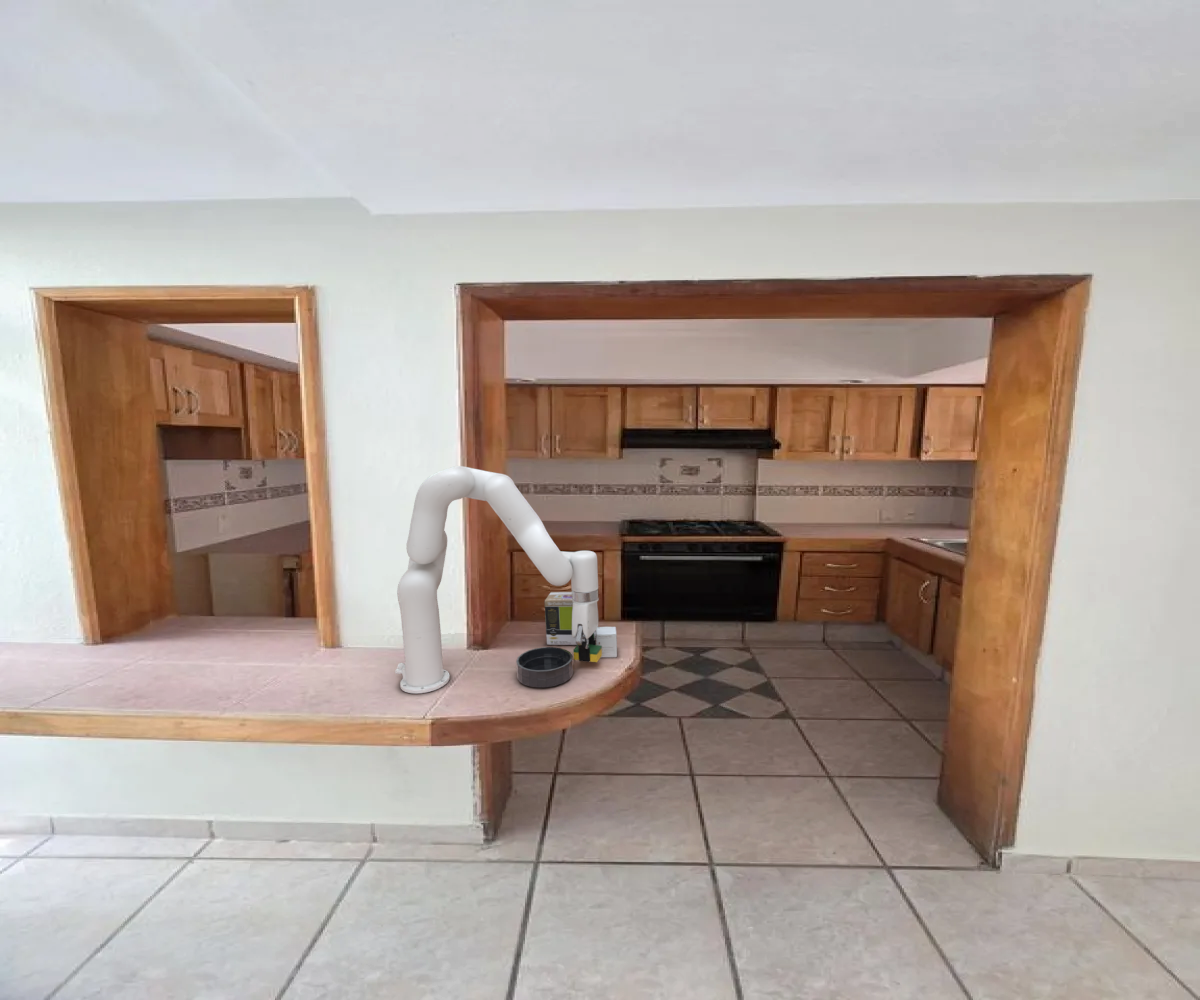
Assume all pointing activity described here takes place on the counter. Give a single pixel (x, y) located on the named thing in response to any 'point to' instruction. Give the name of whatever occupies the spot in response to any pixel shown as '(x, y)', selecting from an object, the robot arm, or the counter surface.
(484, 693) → the counter surface
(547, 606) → the tea box
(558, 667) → the bowl
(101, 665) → the counter surface
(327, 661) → the counter surface
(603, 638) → the product box
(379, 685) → the counter surface
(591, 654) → the sponge
